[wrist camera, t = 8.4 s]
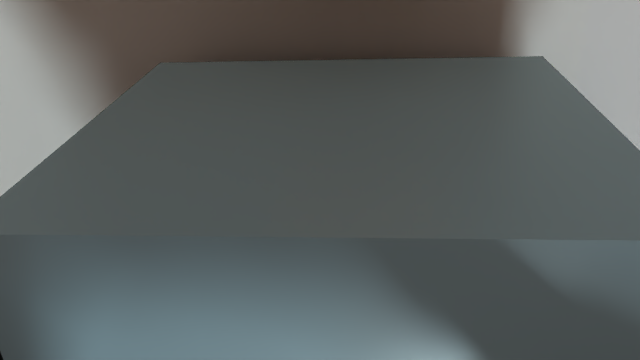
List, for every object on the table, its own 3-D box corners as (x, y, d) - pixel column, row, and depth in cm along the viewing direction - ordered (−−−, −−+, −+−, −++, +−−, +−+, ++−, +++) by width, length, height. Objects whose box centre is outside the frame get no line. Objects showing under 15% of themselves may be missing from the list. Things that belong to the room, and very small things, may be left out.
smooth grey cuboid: (207, 345, 20) (106, 631, 13) (160, 62, 16) (-44, 234, 8) (501, 353, 20) (589, 665, 12) (542, 56, 15) (733, 241, 7)
